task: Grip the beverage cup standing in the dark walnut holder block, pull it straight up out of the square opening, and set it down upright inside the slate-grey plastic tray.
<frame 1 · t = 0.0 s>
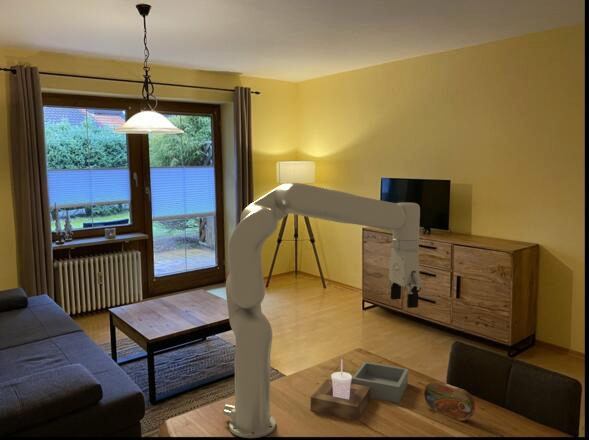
hand: (403, 303, 139), 31 cm above the table, tool pointing down, fingers open, 9 cm apart
tin: (448, 414, 137), on the table
tray: (380, 388, 153), on the table
beverage cup: (341, 405, 142), resting in holder block
holder block: (341, 404, 142), on the table
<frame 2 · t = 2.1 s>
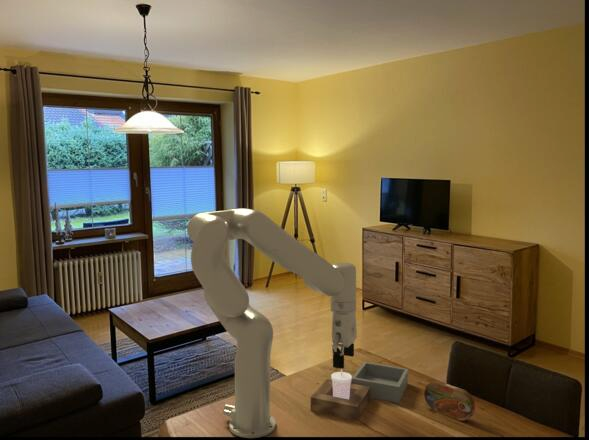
hand: (343, 361, 141), 13 cm above the table, tool pointing down, fingers open, 9 cm apart
nothing on the table moved.
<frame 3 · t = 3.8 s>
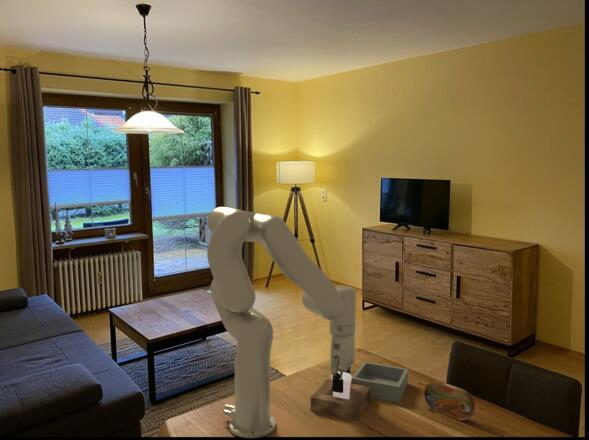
hand: (341, 386, 141), 6 cm above the table, tool pointing down, fingers closed on beverage cup, 6 cm apart
beverage cup: (341, 405, 142), resting in holder block, touching gripper
everything else where it was.
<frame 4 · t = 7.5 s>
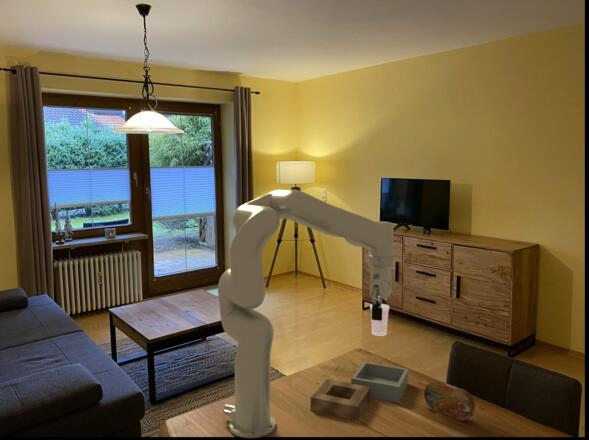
hand: (379, 316, 150), 24 cm above the table, tool pointing down, fingers closed on beverage cup, 6 cm apart
beverage cup: (379, 334, 151), point 18 cm above the table, touching gripper
everything else where it was.
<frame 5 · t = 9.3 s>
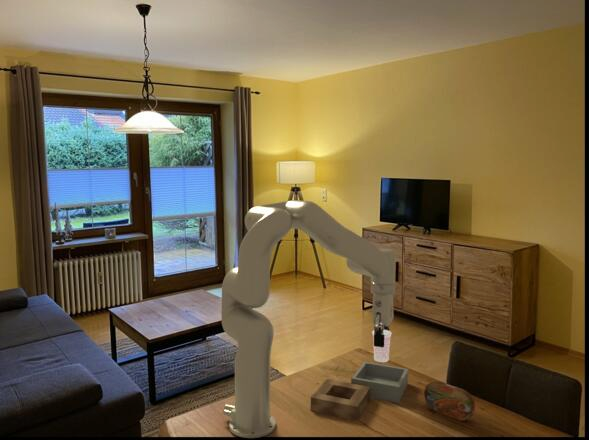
hand: (381, 342, 152), 15 cm above the table, tool pointing down, fingers closed on beverage cup, 6 cm apart
beverage cup: (381, 360, 152), point 9 cm above the table, touching gripper
everything else where it was.
when the fingers open (8 cm above the table, at t = 11.1 s): beverage cup drops 1 cm, resting on tray.
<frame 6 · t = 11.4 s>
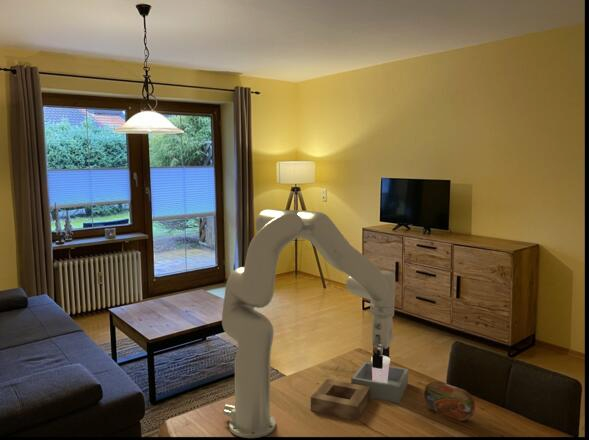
hand: (380, 362, 153), 9 cm above the table, tool pointing down, fingers open, 8 cm apart
beverage cup: (379, 386, 153), point 1 cm above the table, touching tray
everything else where it was.
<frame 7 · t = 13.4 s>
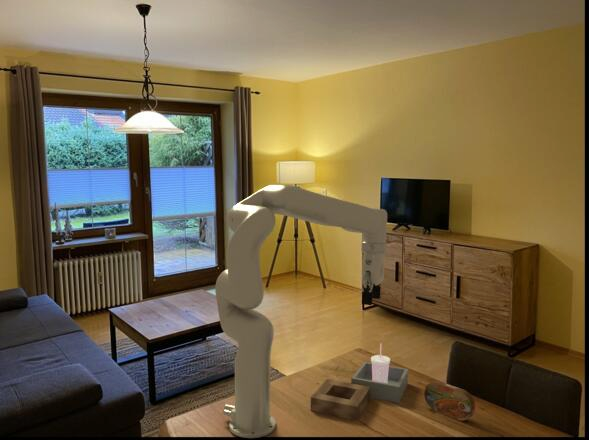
hand: (371, 301, 151), 29 cm above the table, tool pointing down, fingers open, 9 cm apart
nothing on the table moved.
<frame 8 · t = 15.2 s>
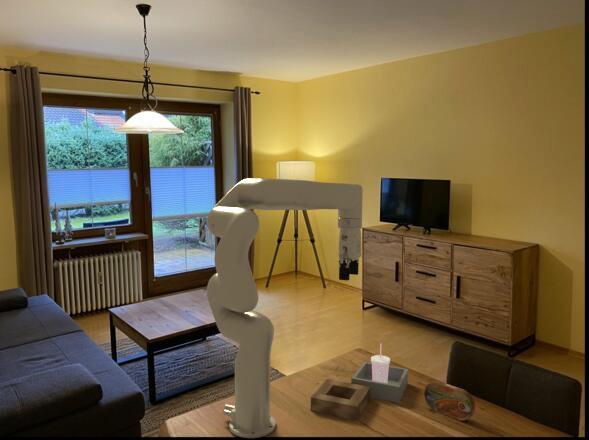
hand: (348, 277, 151), 36 cm above the table, tool pointing down, fingers open, 9 cm apart
nothing on the table moved.
at the end: beverage cup inside the target area on the tray (0.2 cm from its centre), point 0.8 cm above the tray's base; beverage cup tilted 0°; the gripper is holding nothing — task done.
